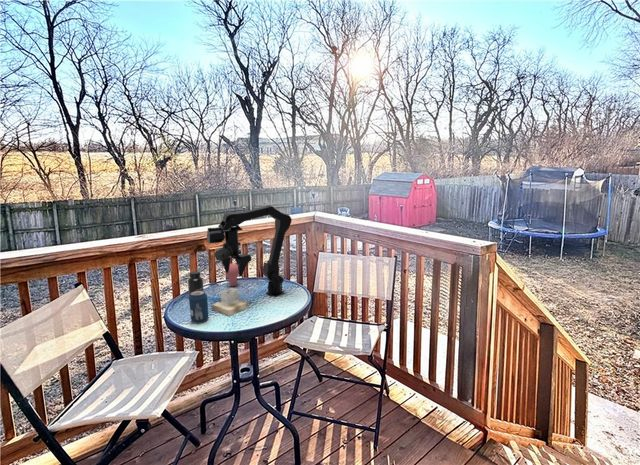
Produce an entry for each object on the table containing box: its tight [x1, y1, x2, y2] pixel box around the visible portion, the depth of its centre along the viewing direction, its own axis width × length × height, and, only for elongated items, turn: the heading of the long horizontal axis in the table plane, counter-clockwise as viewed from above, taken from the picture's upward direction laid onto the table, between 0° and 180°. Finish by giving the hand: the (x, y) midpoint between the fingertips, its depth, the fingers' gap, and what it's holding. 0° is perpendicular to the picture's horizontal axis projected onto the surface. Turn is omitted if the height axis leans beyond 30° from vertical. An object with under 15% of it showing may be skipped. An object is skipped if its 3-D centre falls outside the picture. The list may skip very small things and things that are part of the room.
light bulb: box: [225, 262, 239, 287], centre depth 193 cm, size 7×7×12 cm
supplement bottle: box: [187, 270, 205, 298], centre depth 179 cm, size 7×7×12 cm
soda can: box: [188, 290, 210, 324], centre depth 153 cm, size 7×7×12 cm
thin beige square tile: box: [211, 298, 250, 317], centre depth 165 cm, size 11×11×2 cm
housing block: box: [220, 286, 240, 307], centre depth 164 cm, size 6×5×6 cm
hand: (233, 274), depth 171 cm, fingers open, 9 cm apart
